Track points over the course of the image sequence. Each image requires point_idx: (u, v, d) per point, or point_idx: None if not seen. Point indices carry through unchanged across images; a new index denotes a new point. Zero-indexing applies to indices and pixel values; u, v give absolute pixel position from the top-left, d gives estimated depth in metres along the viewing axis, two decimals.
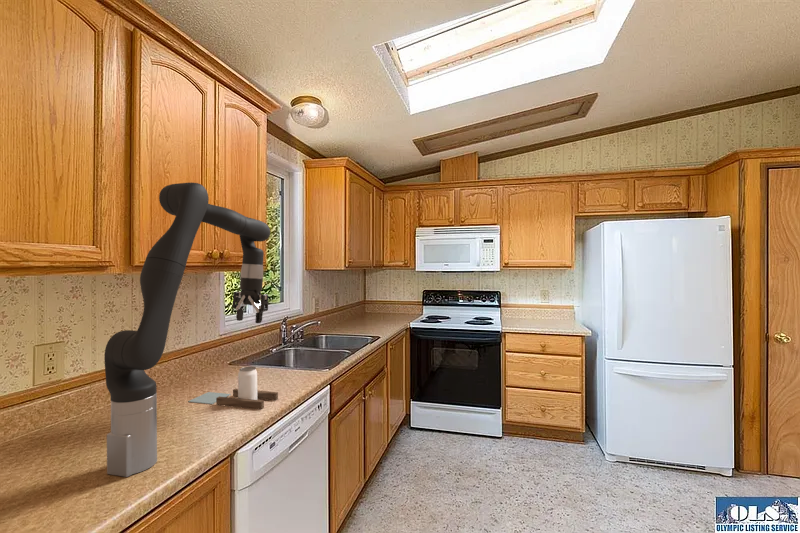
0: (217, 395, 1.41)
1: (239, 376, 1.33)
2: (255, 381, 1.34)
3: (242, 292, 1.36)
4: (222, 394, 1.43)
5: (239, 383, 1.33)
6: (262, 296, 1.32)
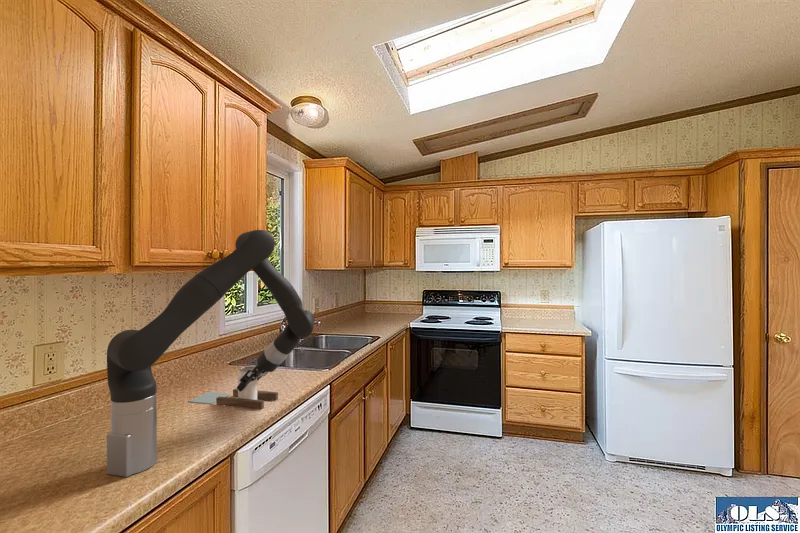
0: (217, 395, 1.41)
1: (239, 376, 1.33)
2: (255, 381, 1.34)
3: None
4: (222, 394, 1.43)
5: (239, 383, 1.33)
6: (248, 371, 1.28)
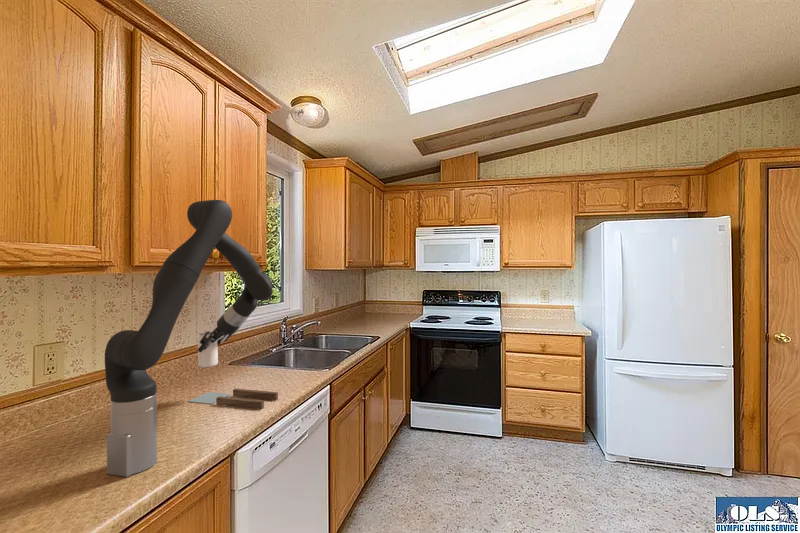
0: (217, 395, 1.41)
1: (198, 340, 1.36)
2: (215, 345, 1.38)
3: None
4: (222, 394, 1.43)
5: (199, 346, 1.36)
6: None
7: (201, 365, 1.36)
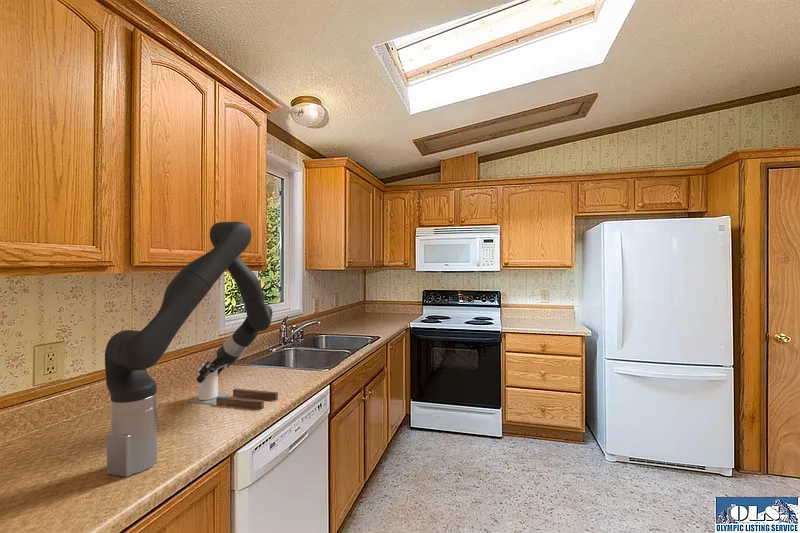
0: None
1: None
2: (215, 377, 1.38)
3: None
4: (222, 394, 1.43)
5: None
6: None
7: (200, 398, 1.36)
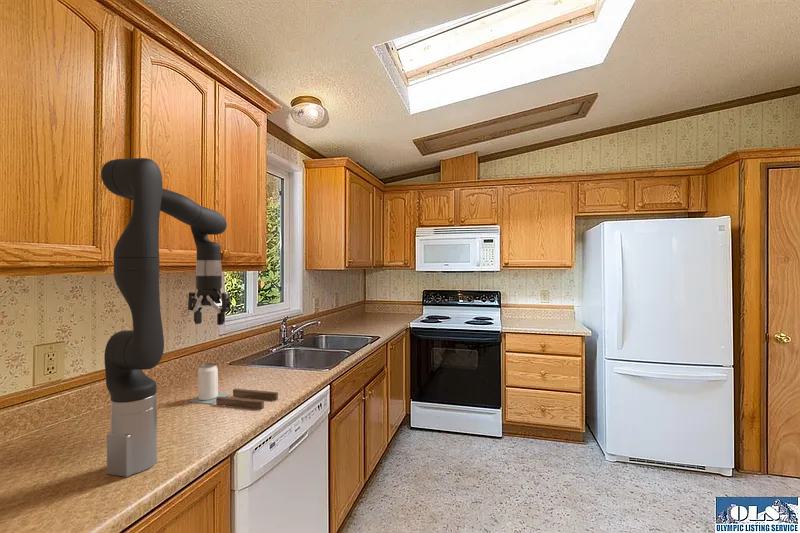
0: None
1: (199, 372, 1.36)
2: (215, 377, 1.38)
3: (199, 292, 1.22)
4: (222, 394, 1.43)
5: (199, 379, 1.36)
6: (223, 295, 1.20)
7: (200, 398, 1.36)
